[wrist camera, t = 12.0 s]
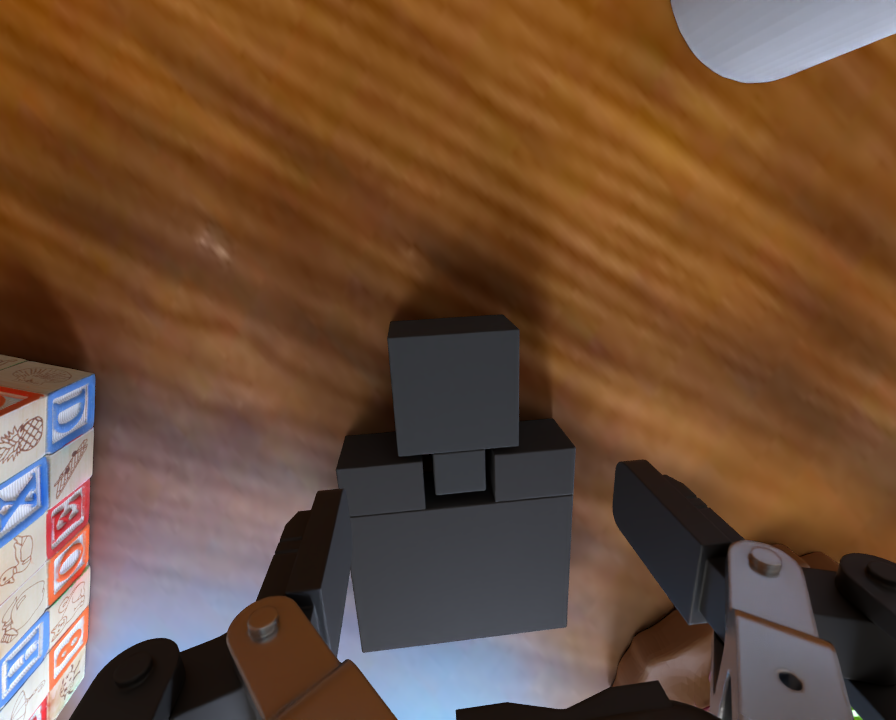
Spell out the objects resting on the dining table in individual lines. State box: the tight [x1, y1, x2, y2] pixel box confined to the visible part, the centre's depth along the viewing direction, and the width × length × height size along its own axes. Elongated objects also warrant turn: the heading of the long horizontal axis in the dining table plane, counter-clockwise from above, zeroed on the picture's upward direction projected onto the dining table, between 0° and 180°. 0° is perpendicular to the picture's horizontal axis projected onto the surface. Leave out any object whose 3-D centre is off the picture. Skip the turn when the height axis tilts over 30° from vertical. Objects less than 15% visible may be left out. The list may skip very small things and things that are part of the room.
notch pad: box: [336, 419, 576, 653], centre depth 24 cm, size 12×12×4 cm
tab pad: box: [387, 314, 519, 495], centre depth 22 cm, size 6×8×4 cm
